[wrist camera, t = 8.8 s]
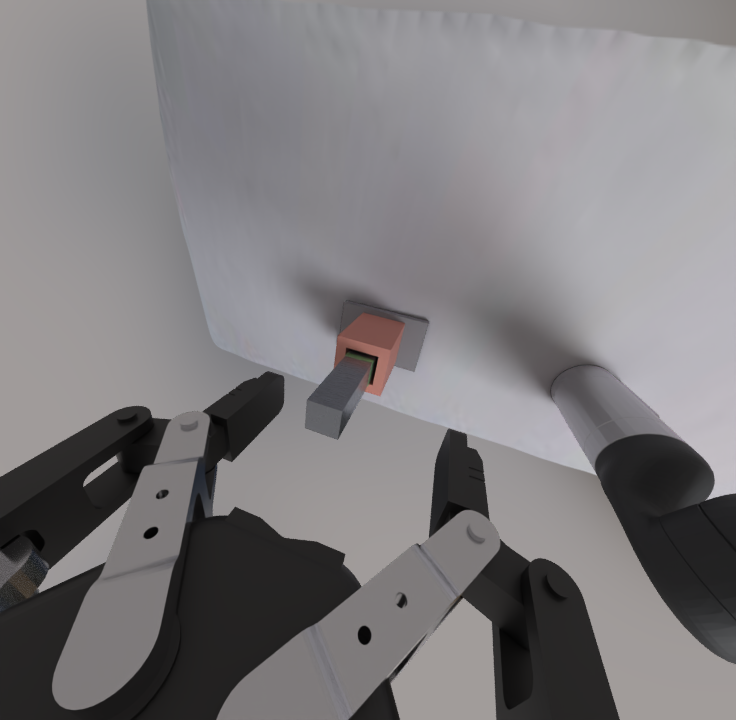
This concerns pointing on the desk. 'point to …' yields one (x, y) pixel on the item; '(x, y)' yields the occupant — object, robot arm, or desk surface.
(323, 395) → the steel column
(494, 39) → the desk surface
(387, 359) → the stand sleeve
